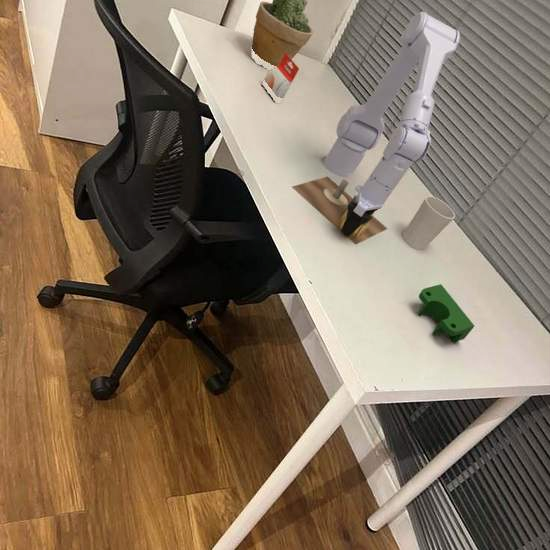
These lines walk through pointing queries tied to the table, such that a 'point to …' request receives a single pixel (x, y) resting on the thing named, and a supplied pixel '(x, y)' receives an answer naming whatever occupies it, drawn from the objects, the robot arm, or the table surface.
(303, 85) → the table surface
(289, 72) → the ink box
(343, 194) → the board
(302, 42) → the potted plant
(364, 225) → the brass gear
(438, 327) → the clamp
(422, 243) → the cup
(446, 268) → the table surface
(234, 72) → the table surface
